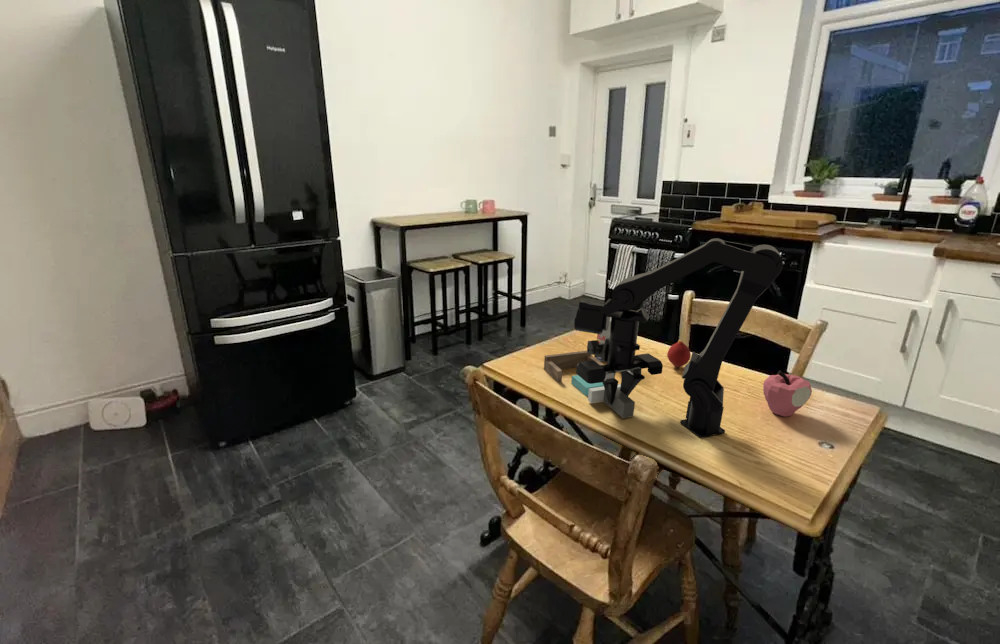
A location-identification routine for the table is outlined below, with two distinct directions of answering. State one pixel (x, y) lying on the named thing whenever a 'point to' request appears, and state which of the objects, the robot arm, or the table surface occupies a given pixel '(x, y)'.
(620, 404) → the pusher
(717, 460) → the table surface
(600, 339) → the energy drink
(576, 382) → the tile
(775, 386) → the apple
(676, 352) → the onion
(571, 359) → the tile bay
